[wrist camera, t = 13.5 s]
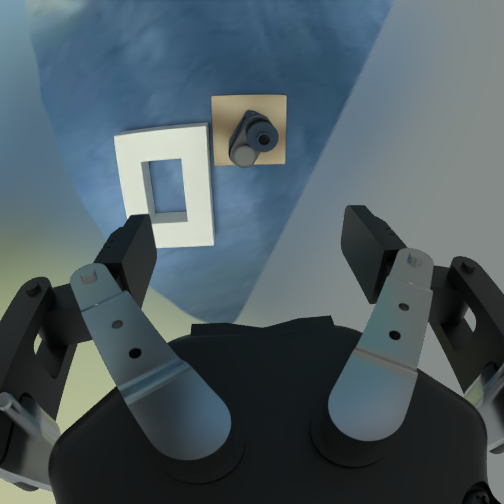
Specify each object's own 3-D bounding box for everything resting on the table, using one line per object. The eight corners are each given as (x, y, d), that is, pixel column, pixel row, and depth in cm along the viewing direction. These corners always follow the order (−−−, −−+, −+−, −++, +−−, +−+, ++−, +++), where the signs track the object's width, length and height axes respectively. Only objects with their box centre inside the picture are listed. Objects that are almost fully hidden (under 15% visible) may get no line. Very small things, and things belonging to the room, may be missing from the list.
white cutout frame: (122, 131, 31) (113, 136, 28) (208, 122, 31) (205, 126, 29) (139, 237, 38) (133, 249, 36) (215, 233, 39) (213, 245, 36)
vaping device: (269, 115, 31) (288, 134, 20) (245, 155, 33) (252, 193, 23) (248, 104, 30) (257, 116, 20) (225, 144, 32) (221, 178, 22)
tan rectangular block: (211, 96, 30) (211, 96, 29) (285, 95, 30) (286, 95, 29) (214, 164, 34) (214, 165, 33) (284, 162, 34) (285, 163, 34)
